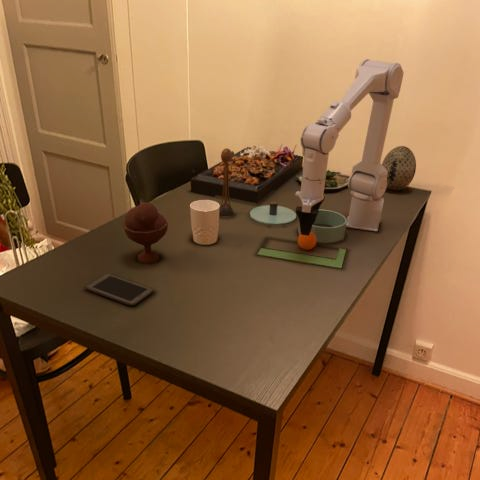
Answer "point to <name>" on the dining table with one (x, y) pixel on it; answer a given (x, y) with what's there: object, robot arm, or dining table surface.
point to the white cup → (205, 221)
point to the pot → (329, 232)
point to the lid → (273, 214)
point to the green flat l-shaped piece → (305, 257)
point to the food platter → (249, 174)
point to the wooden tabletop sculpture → (226, 183)
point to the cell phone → (119, 289)
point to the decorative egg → (399, 167)
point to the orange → (307, 241)
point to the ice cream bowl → (145, 229)
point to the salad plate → (331, 181)
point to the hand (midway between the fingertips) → (307, 228)
